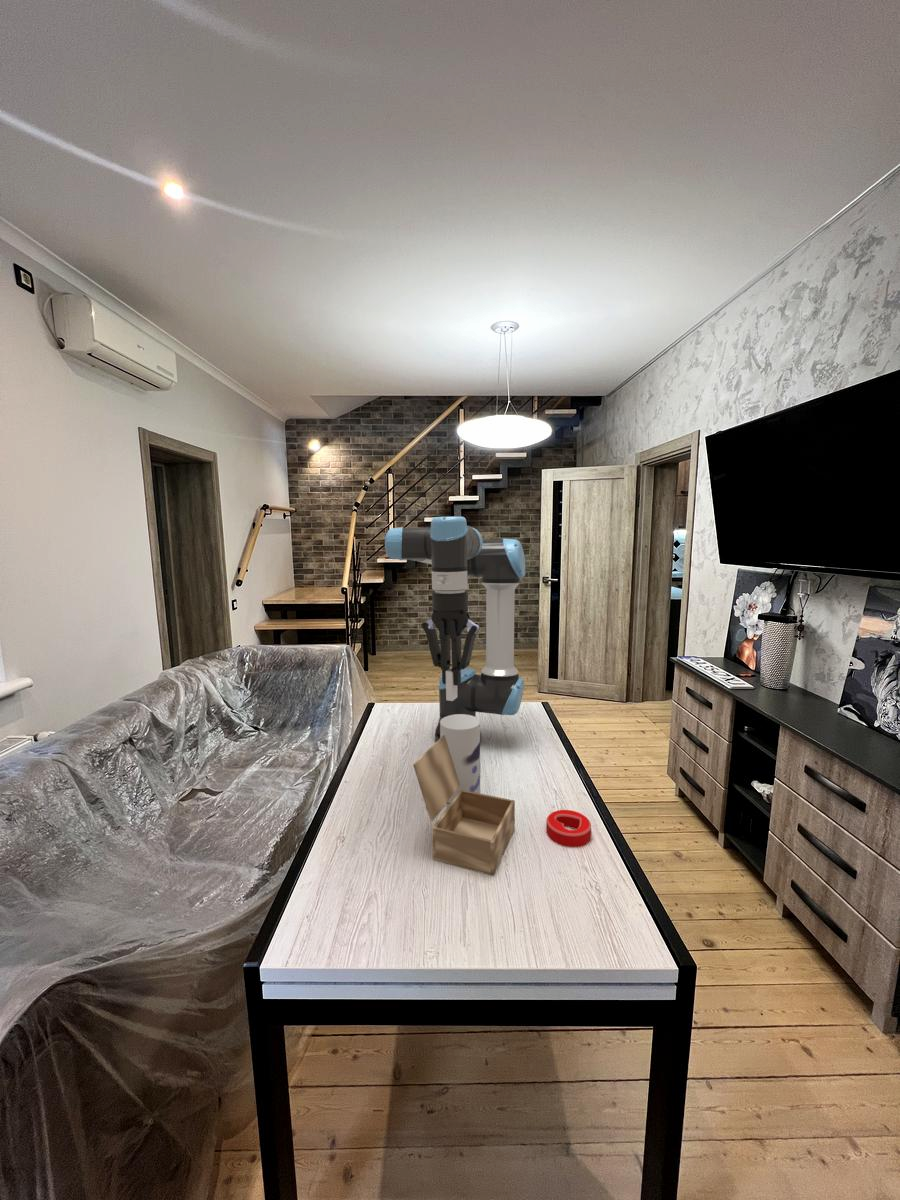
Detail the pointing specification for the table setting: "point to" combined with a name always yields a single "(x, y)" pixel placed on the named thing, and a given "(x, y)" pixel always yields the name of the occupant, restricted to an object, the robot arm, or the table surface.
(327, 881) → the table surface
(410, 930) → the table surface
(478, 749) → the container
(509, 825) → the wooden box
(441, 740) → the lid
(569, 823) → the decorative ornament
